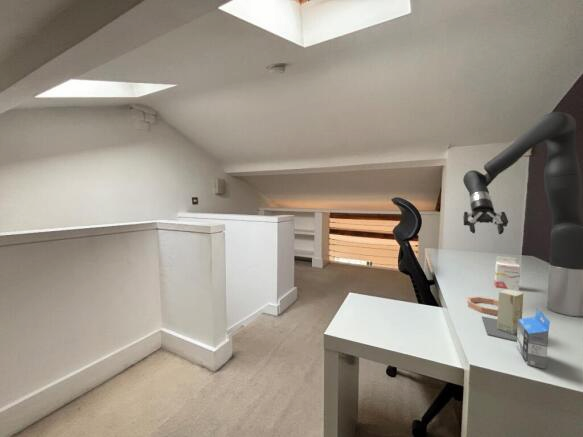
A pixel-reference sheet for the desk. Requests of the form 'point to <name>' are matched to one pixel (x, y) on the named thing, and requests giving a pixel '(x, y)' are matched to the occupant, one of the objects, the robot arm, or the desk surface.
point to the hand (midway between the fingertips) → (487, 232)
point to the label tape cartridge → (533, 340)
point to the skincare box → (509, 310)
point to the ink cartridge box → (507, 273)
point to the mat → (497, 330)
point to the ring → (479, 308)
